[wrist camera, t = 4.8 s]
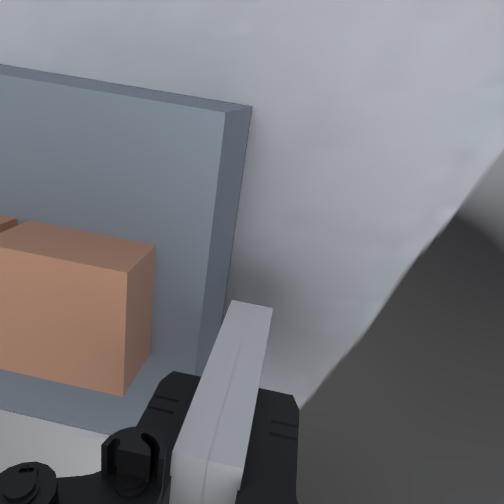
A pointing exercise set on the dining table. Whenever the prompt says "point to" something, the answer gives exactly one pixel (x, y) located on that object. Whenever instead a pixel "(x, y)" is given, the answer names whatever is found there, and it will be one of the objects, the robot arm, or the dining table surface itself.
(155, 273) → the blue-grey square block
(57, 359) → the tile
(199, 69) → the dining table surface
